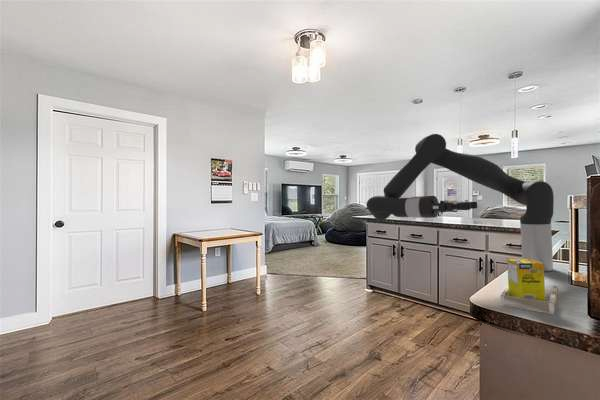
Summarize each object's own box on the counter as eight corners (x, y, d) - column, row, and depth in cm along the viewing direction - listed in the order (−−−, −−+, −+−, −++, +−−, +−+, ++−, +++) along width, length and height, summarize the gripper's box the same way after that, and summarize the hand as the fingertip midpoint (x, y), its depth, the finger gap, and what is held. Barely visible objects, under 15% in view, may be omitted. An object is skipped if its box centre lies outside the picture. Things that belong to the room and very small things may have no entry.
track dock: (513, 285, 94) (512, 277, 94) (557, 291, 87) (557, 282, 87) (500, 305, 78) (500, 295, 78) (553, 314, 71) (553, 303, 71)
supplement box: (546, 306, 75) (544, 263, 75) (519, 306, 76) (517, 263, 76) (533, 299, 81) (531, 258, 81) (508, 298, 82) (506, 258, 82)
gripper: (413, 196, 100) (467, 193, 89) (428, 196, 110) (478, 193, 99) (414, 219, 100) (468, 219, 89) (429, 216, 110) (479, 216, 99)
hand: (473, 205), depth 94 cm, fingers open, 8 cm apart
